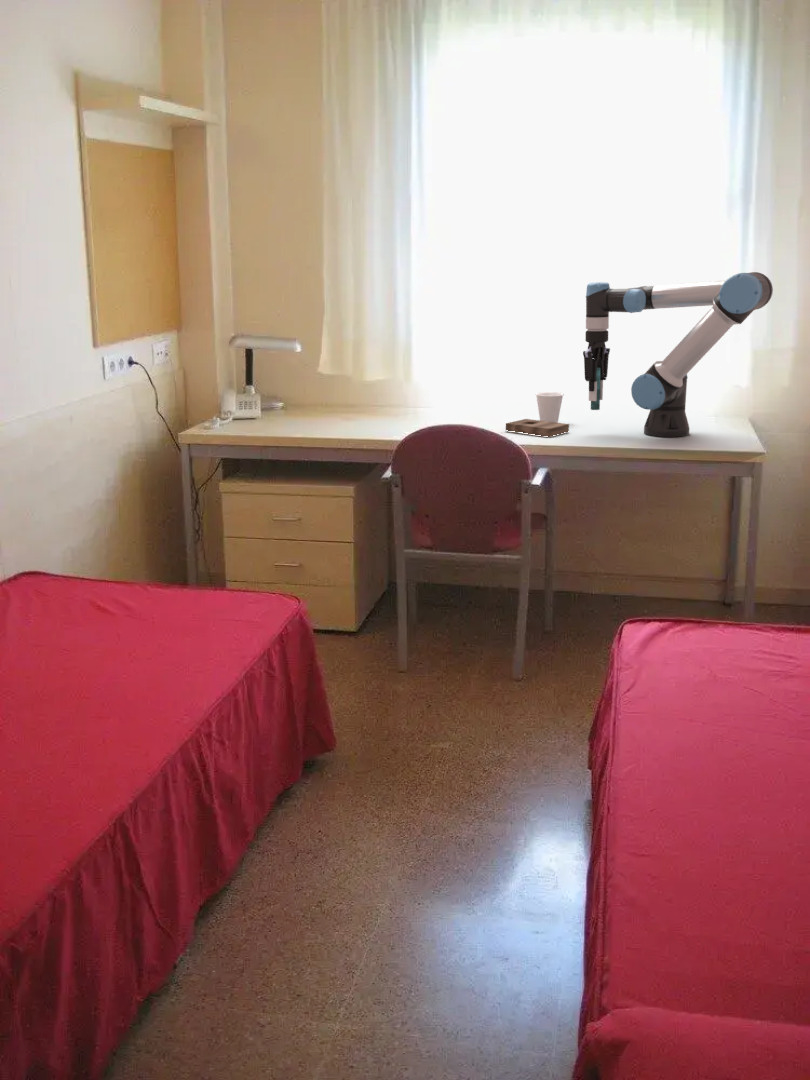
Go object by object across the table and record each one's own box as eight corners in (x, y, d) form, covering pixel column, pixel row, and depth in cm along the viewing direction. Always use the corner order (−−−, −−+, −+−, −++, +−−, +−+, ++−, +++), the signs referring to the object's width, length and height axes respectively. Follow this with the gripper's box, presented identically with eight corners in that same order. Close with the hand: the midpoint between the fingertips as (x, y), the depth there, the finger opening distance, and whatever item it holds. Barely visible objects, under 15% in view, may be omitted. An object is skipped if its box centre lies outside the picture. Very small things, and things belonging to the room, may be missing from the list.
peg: (601, 409, 391) (602, 367, 387) (596, 410, 388) (597, 368, 385) (593, 408, 392) (594, 367, 389) (588, 409, 390) (589, 368, 387)
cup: (543, 427, 406) (544, 396, 403) (530, 423, 415) (530, 393, 412) (567, 425, 410) (568, 394, 407) (554, 421, 419) (555, 391, 416)
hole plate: (568, 432, 396) (568, 424, 395) (548, 437, 387) (549, 428, 386) (525, 427, 407) (526, 418, 406) (505, 431, 399) (505, 423, 398)
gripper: (600, 327, 392) (598, 396, 398) (574, 331, 380) (573, 402, 386) (619, 328, 387) (617, 398, 393) (593, 332, 375) (592, 403, 381)
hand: (595, 400), depth 390 cm, fingers closed on peg, 3 cm apart
